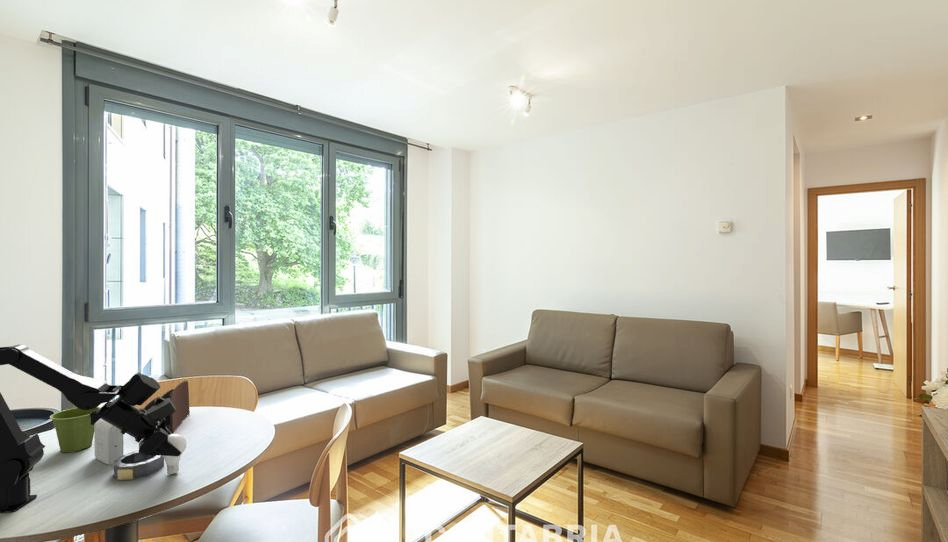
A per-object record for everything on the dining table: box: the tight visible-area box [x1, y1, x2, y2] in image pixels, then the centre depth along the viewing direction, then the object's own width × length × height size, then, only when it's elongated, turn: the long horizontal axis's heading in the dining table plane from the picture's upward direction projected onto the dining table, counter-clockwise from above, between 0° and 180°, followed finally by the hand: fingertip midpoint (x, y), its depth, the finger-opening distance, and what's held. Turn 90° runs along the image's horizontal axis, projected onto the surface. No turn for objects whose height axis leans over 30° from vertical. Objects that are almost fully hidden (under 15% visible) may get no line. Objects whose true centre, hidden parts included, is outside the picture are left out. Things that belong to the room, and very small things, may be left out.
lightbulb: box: [162, 433, 187, 475], centre depth 119 cm, size 6×6×11 cm
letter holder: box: [142, 380, 191, 434], centre depth 154 cm, size 10×20×14 cm, turn 19°
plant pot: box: [49, 406, 101, 453], centre depth 135 cm, size 12×12×11 cm
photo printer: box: [93, 418, 124, 466], centre depth 127 cm, size 10×4×12 cm, turn 60°
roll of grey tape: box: [113, 450, 165, 481], centre depth 121 cm, size 12×11×4 cm
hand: (178, 448), depth 120 cm, fingers open, 9 cm apart
